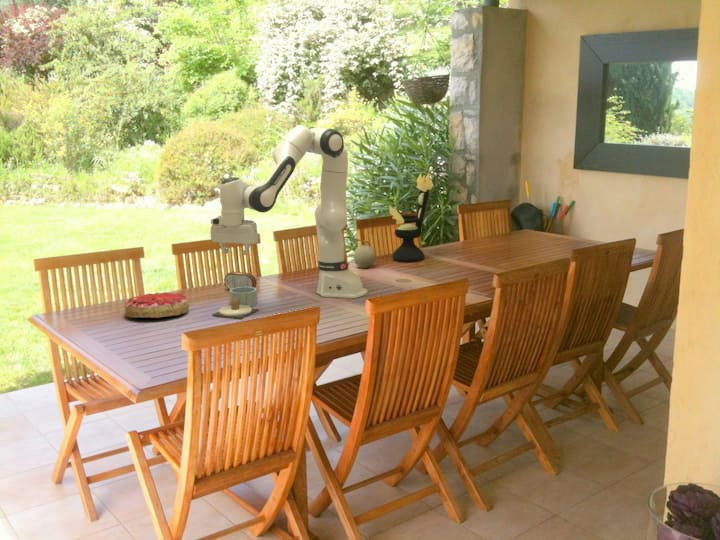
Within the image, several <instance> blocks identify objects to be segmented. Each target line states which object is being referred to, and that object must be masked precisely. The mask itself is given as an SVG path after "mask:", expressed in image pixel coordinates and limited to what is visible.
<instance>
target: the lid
mask: <svg viewBox="0 0 720 540" xmlns="http://www.w3.org/2000/svg"><path fill="white" fill-rule="evenodd" d="M252 307H253V306H248V305H239V298H232V299H231V305H224V306H222V307H220V308H219V309H218V312H219V314H221V315H224V316H241V315H246V314H249V313H251V312H252V309H253V308H252Z"/></svg>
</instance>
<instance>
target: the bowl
mask: <svg viewBox="0 0 720 540" xmlns="http://www.w3.org/2000/svg"><path fill="white" fill-rule="evenodd" d="M257 289H258V288H256V287H255V288H254V287H237V288H233V289H231V290H229V303H230V305H231V299H232V298H239V305H248V306H251V307H254V306H257V305H258V292H257V291H258V290H257ZM256 304H257V305H256Z"/></svg>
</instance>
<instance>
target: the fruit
mask: <svg viewBox="0 0 720 540" xmlns="http://www.w3.org/2000/svg"><path fill="white" fill-rule="evenodd" d="M351 240H352V241H359V242H363V244H361V245H358V246H357V247H356V248H355V250H354V253H353V260H354V263H355V264H356V266H358V268H361V269H368V268H370V267H372V266H373V265H374V263H375V260H376V253H375V251H374V248H373V247H371V243H370V242H369V241H367V240H365V239H354V238H352V239H351ZM366 243H367V244H368V245H367V244H366Z"/></svg>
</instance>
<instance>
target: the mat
mask: <svg viewBox="0 0 720 540" xmlns="http://www.w3.org/2000/svg"><path fill="white" fill-rule="evenodd" d="M256 311H257V312H258V311H259V309H258V308H252V312H251V313H249V314H246V315H241V316H224V315H221V314H219V311H216V312H214V313H212V317H217V318H223V317H224V318H225V319H232V318H233V319H232V320H242V319H244V318H243V317H245V318H247V317H249V316H251V315H252V313H253V314H255V313H257V312H256ZM254 312H255V313H254ZM250 314H251V315H250ZM248 315H249V316H248ZM246 316H247V317H246Z"/></svg>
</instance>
